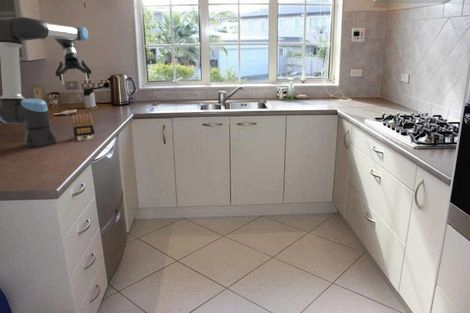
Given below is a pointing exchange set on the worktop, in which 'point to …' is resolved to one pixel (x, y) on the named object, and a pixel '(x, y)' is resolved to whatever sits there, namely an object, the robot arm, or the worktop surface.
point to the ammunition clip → (83, 125)
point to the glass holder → (88, 98)
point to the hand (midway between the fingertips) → (75, 83)
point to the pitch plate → (85, 137)
